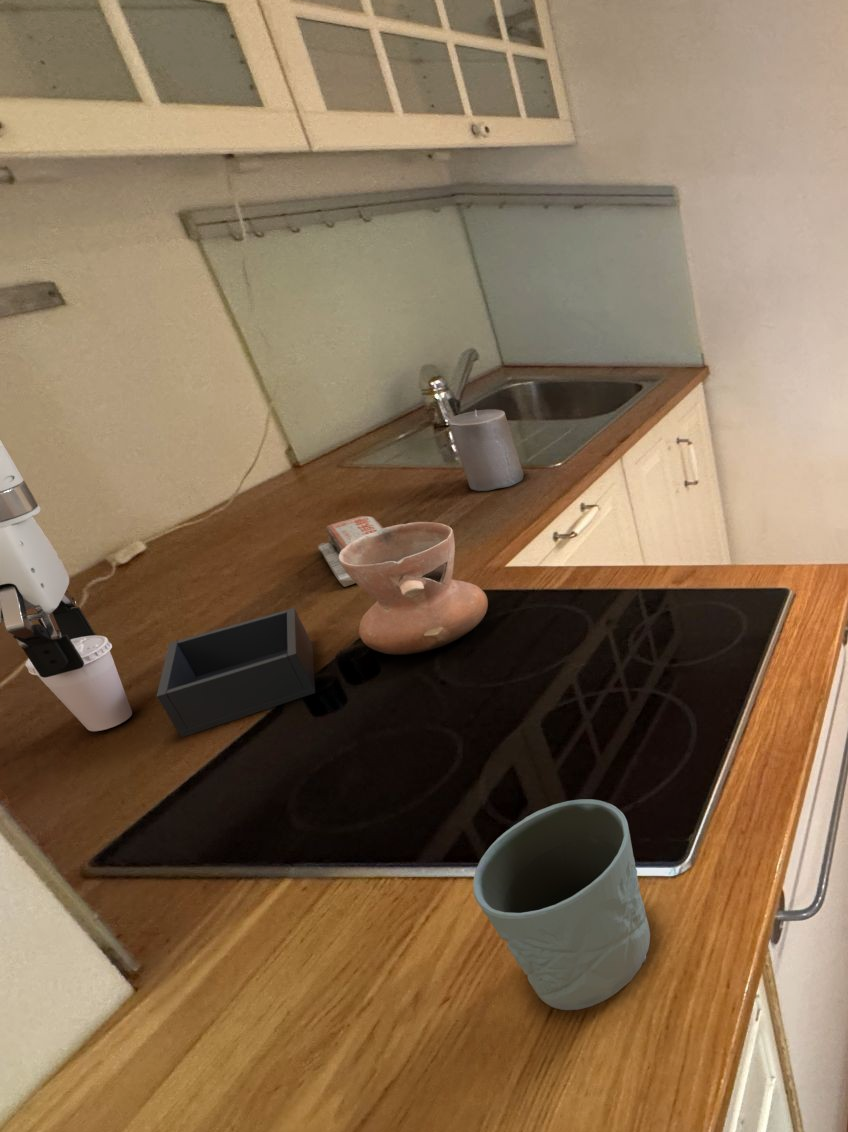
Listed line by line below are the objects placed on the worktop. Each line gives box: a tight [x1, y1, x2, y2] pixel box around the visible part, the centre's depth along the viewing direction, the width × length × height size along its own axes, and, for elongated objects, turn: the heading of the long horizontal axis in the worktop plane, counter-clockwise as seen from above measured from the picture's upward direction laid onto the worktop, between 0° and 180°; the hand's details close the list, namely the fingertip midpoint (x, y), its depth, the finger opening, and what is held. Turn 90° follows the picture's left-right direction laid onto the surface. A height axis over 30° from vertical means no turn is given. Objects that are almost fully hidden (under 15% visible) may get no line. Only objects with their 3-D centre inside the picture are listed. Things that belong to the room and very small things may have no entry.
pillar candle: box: [447, 408, 525, 492], centre depth 150 cm, size 10×10×15 cm
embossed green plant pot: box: [472, 798, 651, 1011], centre depth 58 cm, size 10×10×12 cm
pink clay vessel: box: [339, 521, 489, 656], centre depth 101 cm, size 18×14×14 cm
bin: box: [156, 607, 316, 738], centre depth 93 cm, size 12×14×6 cm
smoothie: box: [24, 618, 133, 732], centre depth 85 cm, size 6×6×14 cm
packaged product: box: [317, 515, 388, 588], centre depth 123 cm, size 18×5×10 cm
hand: (69, 655), depth 84 cm, fingers closed on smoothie, 6 cm apart
